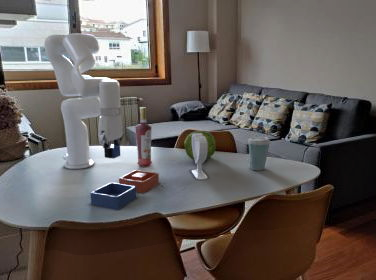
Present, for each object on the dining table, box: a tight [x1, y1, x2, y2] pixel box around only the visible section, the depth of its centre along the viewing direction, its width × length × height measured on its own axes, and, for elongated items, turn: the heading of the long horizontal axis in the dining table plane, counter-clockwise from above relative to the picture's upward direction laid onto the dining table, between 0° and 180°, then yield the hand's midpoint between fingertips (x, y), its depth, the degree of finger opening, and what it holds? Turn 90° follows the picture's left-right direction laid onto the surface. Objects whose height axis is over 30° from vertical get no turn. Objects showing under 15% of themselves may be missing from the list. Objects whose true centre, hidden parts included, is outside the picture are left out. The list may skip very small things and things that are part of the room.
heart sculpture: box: [191, 133, 208, 180], centre depth 158 cm, size 16×5×18 cm, turn 18°
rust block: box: [132, 173, 147, 181], centre depth 143 cm, size 4×4×4 cm
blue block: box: [111, 143, 121, 159], centre depth 145 cm, size 4×4×4 cm
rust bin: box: [118, 169, 160, 194], centre depth 143 cm, size 11×11×4 cm
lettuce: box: [184, 130, 217, 160], centre depth 183 cm, size 16×21×15 cm
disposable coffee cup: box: [247, 136, 271, 171], centre depth 169 cm, size 11×11×15 cm
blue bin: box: [90, 181, 137, 211], centre depth 129 cm, size 11×11×4 cm
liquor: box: [134, 106, 153, 168], centre depth 167 cm, size 7×7×28 cm
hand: (112, 155), depth 145 cm, fingers closed on blue block, 4 cm apart
